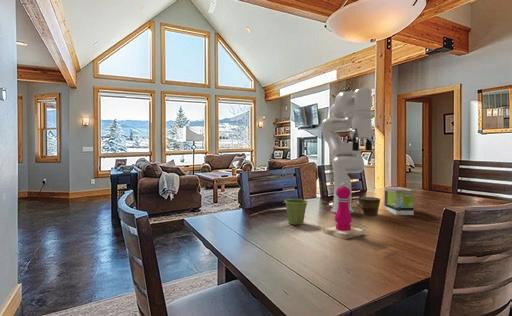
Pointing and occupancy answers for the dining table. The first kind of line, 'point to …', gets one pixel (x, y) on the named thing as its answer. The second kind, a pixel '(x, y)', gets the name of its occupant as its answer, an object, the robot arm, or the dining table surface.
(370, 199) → the ceramic cup
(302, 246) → the dining table surface
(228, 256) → the dining table surface
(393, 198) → the tea box
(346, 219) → the pepper mill
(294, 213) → the plant pot
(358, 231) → the maple base
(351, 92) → the robot arm
